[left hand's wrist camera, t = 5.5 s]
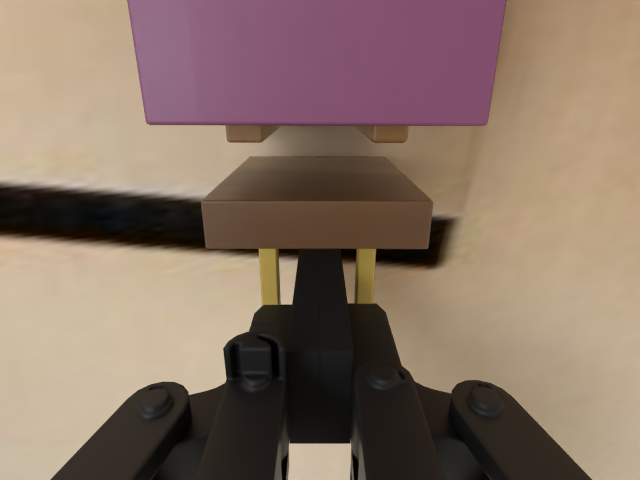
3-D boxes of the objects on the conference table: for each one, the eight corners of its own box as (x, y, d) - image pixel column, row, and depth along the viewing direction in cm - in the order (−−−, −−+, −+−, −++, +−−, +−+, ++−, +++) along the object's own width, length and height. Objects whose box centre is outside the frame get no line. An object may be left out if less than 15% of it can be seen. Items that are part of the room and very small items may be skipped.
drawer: (375, 315, 17) (407, 437, 11) (259, 315, 17) (227, 437, 11) (420, -391, 10) (595, -1219, 4) (215, -393, 10) (38, -1227, 4)
